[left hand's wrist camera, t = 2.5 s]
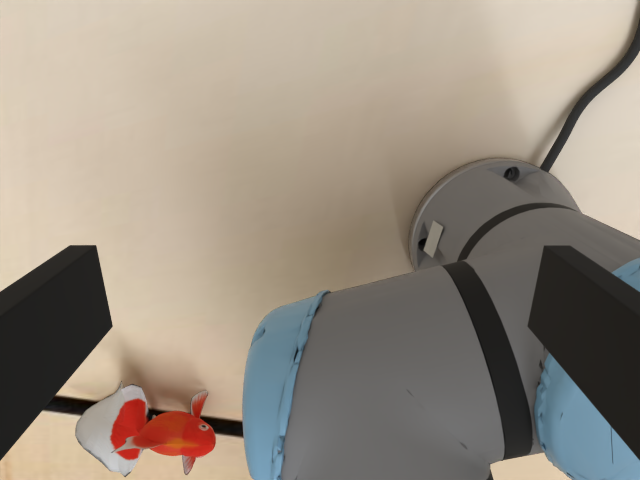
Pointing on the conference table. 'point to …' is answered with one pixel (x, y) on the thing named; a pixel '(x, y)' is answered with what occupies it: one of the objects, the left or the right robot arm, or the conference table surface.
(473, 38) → the conference table surface
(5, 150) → the conference table surface
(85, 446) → the fish
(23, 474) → the conference table surface
